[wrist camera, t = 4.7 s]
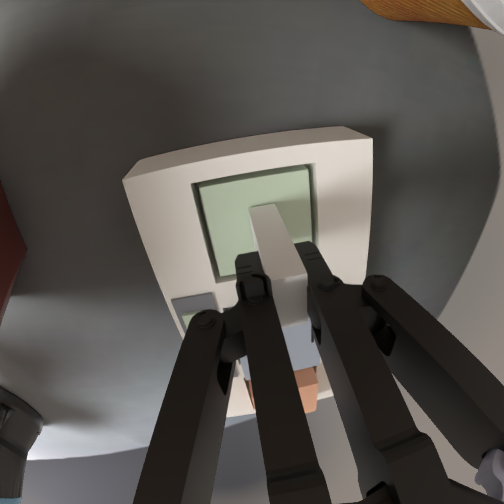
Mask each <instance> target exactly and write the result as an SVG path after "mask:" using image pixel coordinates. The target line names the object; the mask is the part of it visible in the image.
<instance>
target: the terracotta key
mask: <svg viewBox="0 0 504 504" xmlns="http://www.w3.org/2000/svg"><path fill="white" fill-rule="evenodd" d="M294 374H295V378H296V382H297V386H298V389H299V393H300V397H301V400H302V404H303V408H304V411H305V413H309V412H313V411H316V406H317V405H316V404H317V394H318V380H317V377H316V374H315V371H314V368H313V367H309V368H305V369H300V370H296V371H294ZM249 387H250V393H251V399H252V402H253V405H254V408H255V404H254V398H253V392H252V385H251V380H249ZM255 411H256V410H255Z"/></svg>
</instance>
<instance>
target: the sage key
mask: <svg viewBox="0 0 504 504" xmlns="http://www.w3.org/2000/svg"><path fill="white" fill-rule="evenodd" d="M199 189H200V193H201V198H202V202H203V207H204V211H205V215H206V219H207V224H208V228H209V232H210V236H211V240H212V244H213V249H214V253H215V257H216V261H217V265H218V269H219V273H220V277H221V276H226V275H231V274H236V269H235V262H234V261H235V259H236V257H237V255H238V254H244V253H249V252H255V249H254V243H253V237H252V230H251V224H250V218H249V211H248V208H252V207H257V206H263V205H269V204H275V206H276V208H277V210H278V212H279V214H280V216H281V218H282V220H283V222H284V224H285V227H286V229H287V231H288V233H289V235H290V237H291V239H292V241H293V243H299V242H305V241H310V242H312V228H311V207H310V189H309V174H308V169H307V168H306V167H305V166H304V165H303V164H301V165H293V166H286V167H280V168H273V169H267V170H260V171H254V172H248V173H243V174H237V175H232V176H226V177H221V178H216V179H210V180H205V181H201V182H200V186H199Z"/></svg>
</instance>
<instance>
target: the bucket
mask: <svg viewBox="0 0 504 504" xmlns="http://www.w3.org/2000/svg"><path fill="white" fill-rule="evenodd" d="M26 250H27V248H26V246H25V244H24V241H23V239H22V237H21V234H20V232H19V230H18V227H17V225H16V222H15V220H14V217H13V215H12V212H11V210H10V207H9V204H8V201H7V199H6V196H5V193H4V190H3V187H2V184H1V181H0V325H1V322H2V319H3V316H4V313H5V310H6V307H7V304H8V301H9V299H10V296H11V293H12V289H13V286H14V283H15V280H16V277H17V274H18V271H19V269H20V266H21V263H22V260H23V258H24V255H25V253H26Z"/></svg>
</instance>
